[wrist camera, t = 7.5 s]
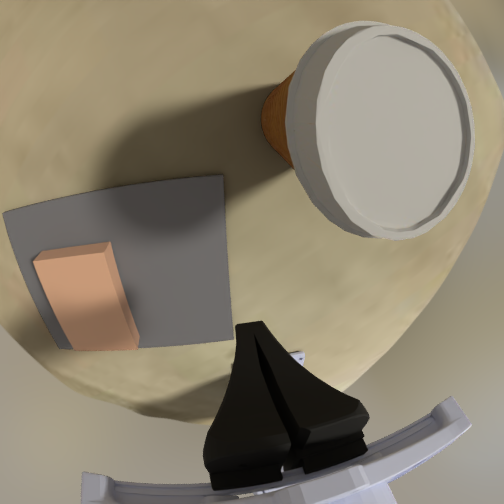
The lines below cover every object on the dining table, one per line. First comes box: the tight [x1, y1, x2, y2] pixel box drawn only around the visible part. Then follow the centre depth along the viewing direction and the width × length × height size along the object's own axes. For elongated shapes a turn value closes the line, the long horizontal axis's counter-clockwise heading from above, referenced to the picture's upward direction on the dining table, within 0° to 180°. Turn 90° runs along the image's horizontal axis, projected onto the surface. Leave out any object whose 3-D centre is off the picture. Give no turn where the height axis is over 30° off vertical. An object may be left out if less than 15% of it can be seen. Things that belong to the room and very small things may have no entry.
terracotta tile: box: [33, 242, 140, 351], centre depth 20 cm, size 10×2×7 cm
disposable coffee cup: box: [261, 21, 475, 241], centre depth 13 cm, size 10×10×12 cm
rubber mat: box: [2, 174, 234, 349], centre depth 21 cm, size 16×20×1 cm
